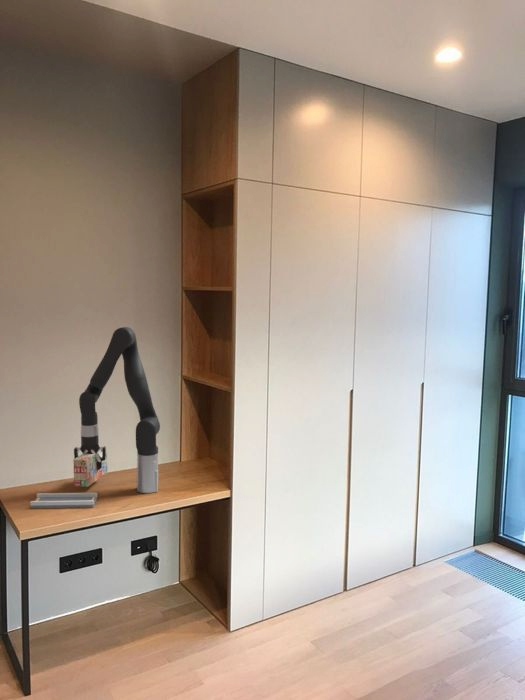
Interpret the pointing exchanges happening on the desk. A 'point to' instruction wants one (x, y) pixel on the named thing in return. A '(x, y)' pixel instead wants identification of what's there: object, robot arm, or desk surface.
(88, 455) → the stack of blocks
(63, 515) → the desk surface
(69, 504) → the base board
